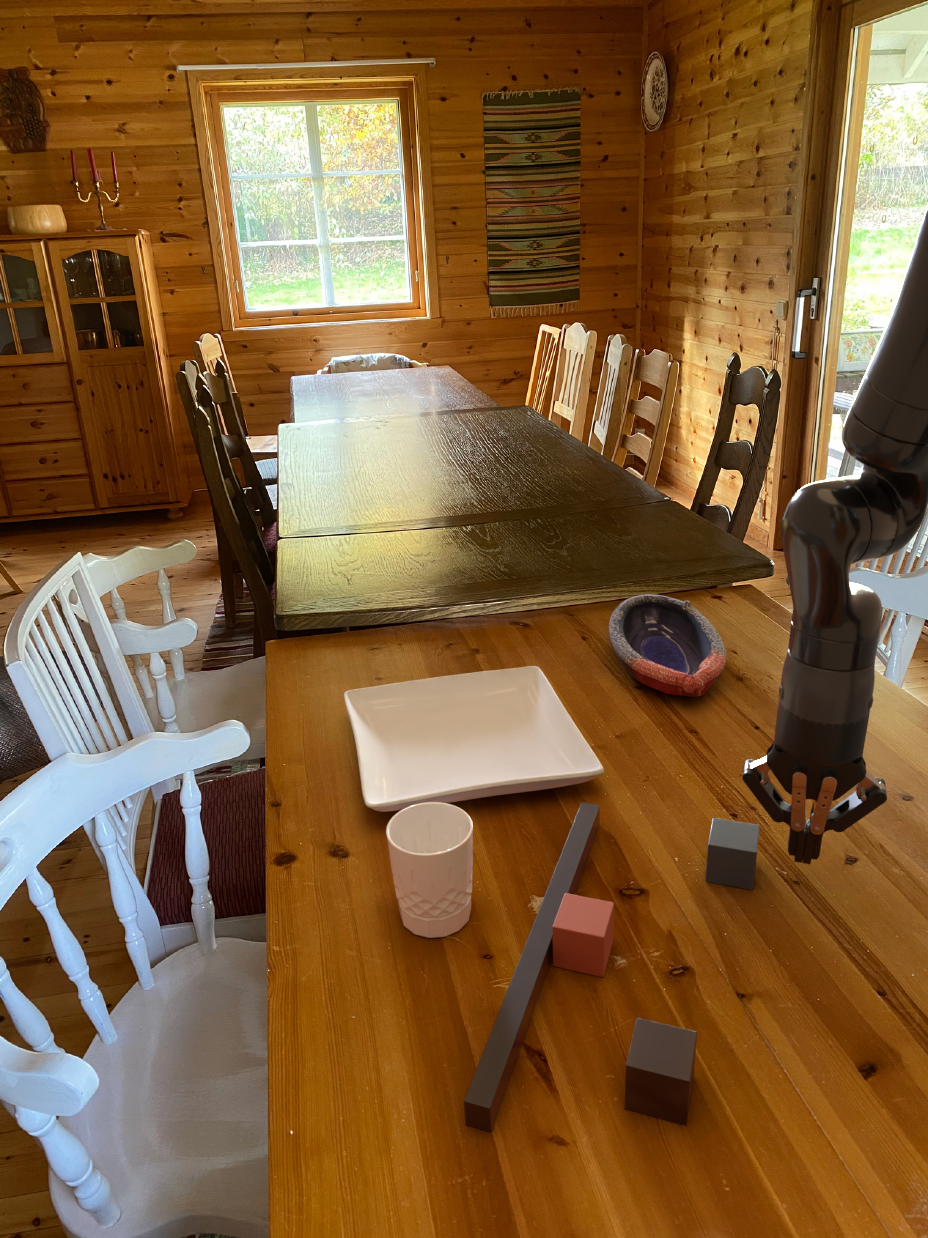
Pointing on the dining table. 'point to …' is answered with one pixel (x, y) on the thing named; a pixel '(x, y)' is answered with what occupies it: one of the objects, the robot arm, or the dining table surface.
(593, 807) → the rail
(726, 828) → the slate block
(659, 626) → the dish
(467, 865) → the white cup
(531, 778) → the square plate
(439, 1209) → the dining table surface
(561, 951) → the terracotta block
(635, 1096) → the walnut block
